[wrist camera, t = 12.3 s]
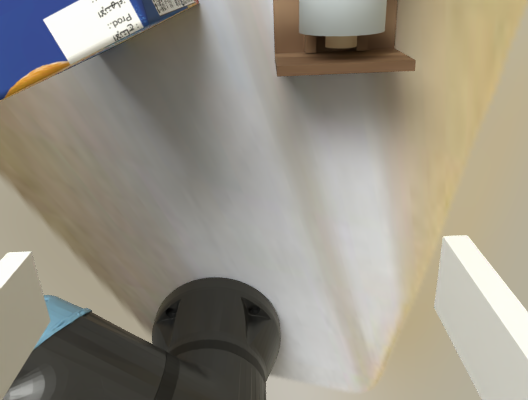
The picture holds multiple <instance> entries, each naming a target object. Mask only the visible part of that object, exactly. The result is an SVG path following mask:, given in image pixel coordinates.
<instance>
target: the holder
mask: <svg viewBox="0 0 528 400" xmlns="http://www.w3.org/2000/svg"><path fill="white" fill-rule="evenodd" d="M273 10H274V41H275V64H276V71H277V76H301V75H324V74H347V73H371V72H394V71H415V62H416V60H414V59H412V58H410V57H409V56H407V55H405V54H403V53H402V52H400V51H398V50H396V49H394V45H395V30H396V14H397V0H387V5H386V20H385V31H384V32H382V33H378V34H371V35H359V36H357V46H356V47H353V48H327V47H325V36H313V35H304V34H301V33H299V0H273Z"/></svg>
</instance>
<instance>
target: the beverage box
mask: <svg viewBox="0 0 528 400" xmlns="http://www.w3.org/2000/svg"><path fill="white" fill-rule="evenodd" d="M197 4H199V1H198V0H0V101H2V100H4V99H6V98H8V97H10V96H13V95H15V94H17V93H19V92H21V91H23V90H25V89H27V88H29V87H31V86H33V85H36V84H38V83H40V82H42V81H44V80H46V79H48V78H50V77H52V76H54V75H56V74H59V73H61V72H63V71H65V70H67V69H69V68H71V67H73V66H75V65H77V64H79V63H82V62H84V61H86V60H88V59H90V58H92V57H94V56H96V55H98V54H100V53H102V52H104V51H106V50H108V49H110V48H112V47H114V46H116V45H118V44H120V43H122V42H124V41H126V40H128V39H130V38H132V37H134V36H136V35H138V34H140V33H142V32H144V31H145V30H147V29H149V28H151V27H153V26H155V25H157V24H159V23H161V22H163V21H165V20H167V19H169V18H171V17H173V16H175V15H177V14H179V13H181V12H183V11H185V10H187V9H189V8H191V7H193V6H195V5H197Z"/></svg>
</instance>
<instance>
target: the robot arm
mask: <svg viewBox="0 0 528 400" xmlns="http://www.w3.org/2000/svg"><path fill="white" fill-rule="evenodd" d="M434 308H435V310H436V312H437V314H438V316H439V318H440V320H441V322H442V324H443V326H444V327H445V330H446V331H447V333H448V335H449V337H450V339H451V341H452V343H453V345H454V347H455V349H456V351H457V353H458V355H459V357H460V358H461V361H462V362H463V364H464V366H465V368H466V370H467V372H468V374H469V376H470V378H471V380H472V382H473V384H474V386H475V387H476V390H477V392H478V394H479V395H480V397H481V399H482V400H528V312H527V311H526V309H525V308H524V307H523V306H522V304H521V303H520V302H519V300H518V299H517V298H516V297H515V295H514V294H513V293H512V292H511V290H510V289H509V288H508V286H507V285H506V284H505V283H504V281H503V280H502V279H501V278H500V276H499V275H498V274H497V272H496V271H495V270H494V269H493V267H492V266H491V265H490V263H489V262H488V261H487V260H486V258H485V257H484V256H483V255H482V253H481V252H480V251H479V250H478V248H477V247H476V246H475V244H474V243H473V242H472V241H471V239H470V238H469V237H468V236H467V235H461V236H443V240H442V248H441V257H440V264H439V273H438V280H437V290H436V297H435V305H434ZM152 343H153V344H151V343H149V342H147V341H145V340H143V339H141V338H139V337H137V336H135V335H133V334H131V333H129V332H128V331H126V330H124V329H122V328H120V327H118V326H116V325H114V324H112V323H111V322H109V321H107V320H105V319H103V318H101V317H99V316H98V315H96V314H94V313H92V310H90V309H88V308H85V309H83V308H81V307H78V306H76V305H74V304H71V303H69V302H67V301H65V300H63V299H61V298H58V297H56V296H52V295H43V291H42V288H41V284H40V280H39V277H38V274H37V269H36V266H35V263H34V259H33V255H32V252H9V253H7V254H6V255H5V256H4V257H3V259H2V260H1V261H0V400H266V381H267V378H268V376H269V374H270V372H271V369H272V367H273V365H274V362H275V360H276V358H277V355H278V352H279V347H280V324H279V319H278V316H277V313H276V311H275V309H274V307H273V306H272V304H271V303H270V302H269V300H268V299H267V298H266V297H265V296H264V295H263V294H262V293H260V292H259V291H258V290H256V289H255V288H253V287H251V286H249V285H247V284H245V283H242V282H239V281H236V280H232V279H227V278H204V279H198V280H195V281H191V282H189V283H186V284H184V285H182V286H180V287H179V288H177V289H176V290H174V291H173V292H172V293H170V294H169V295H168V296H167V297H166V299H165V300H164V301H163V303H162V304H161V306H160V308H159V310H158V313H157V316H156V319H155V322H154V326H153V331H152Z"/></svg>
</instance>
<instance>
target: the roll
mask: <svg viewBox="0 0 528 400" xmlns="http://www.w3.org/2000/svg"><path fill="white" fill-rule="evenodd" d="M386 5H387V0H299V33H301V34H304V35H313V36H325V47H327V48H353V47H356V46H357V36H359V35H371V34H378V33H382V32H384V31H385V20H386Z"/></svg>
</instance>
